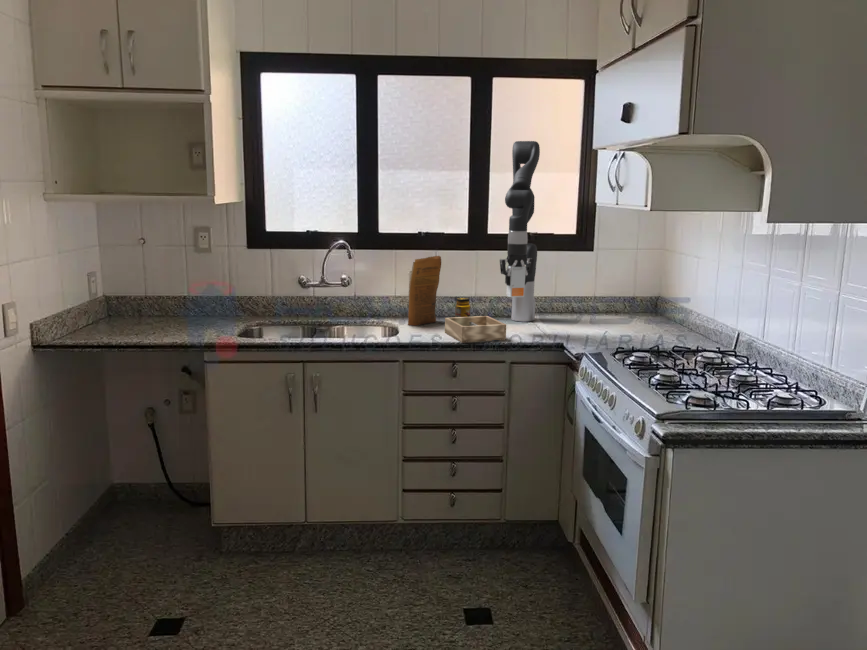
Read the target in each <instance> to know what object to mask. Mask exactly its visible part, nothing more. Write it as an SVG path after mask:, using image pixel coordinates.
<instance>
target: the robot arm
mask: <svg viewBox="0 0 867 650" xmlns="http://www.w3.org/2000/svg"><path fill="white" fill-rule="evenodd" d="M540 148H541V147H540V144H539V142H538V141H536V140H518V141H514V142H513V145H512V153H511V156H512V184H511V186H510V188H508V190H507V192H506V194H505V198H504V203H505V205H506V207H507V208H509V209H512V212H511V213H512V215H510V216H509V219H508V235H507V251H506V252H507V253H506V254H507V257H506V258H500V259H499V270H500V274H501V275H504V276H505V279H504V281H505V282H504V283H505V285H506V286H507V285H508V286H510V279H511V276H510V274H511V270H512V267H526V271H525V289H524V297H511V315H510V316H511V317H510V319H511V320H512V321H514V322H515V321H516V322H524V323H525V322H532V321H536V320H535V318H536V317H535V316H536V298H534V297H535V278H536V273H537V261H538V247H537V245H536V244H534V243H530V242H528V241H529V239H528V224H529V222H530V221H531V219H532V217H533V215H534V214H535V198H536V197H535V195H534V192H533V190H532V188H531V186H532V181H533V180H532V179H533V176H534V174H535V170H536V169H537V166H538V164H539V160H540V153H541V152H540V151H541V149H540ZM521 165H522V166H521ZM507 264H508V265H507ZM506 265H507V266H506ZM509 266H510V267H511V268H509Z"/></svg>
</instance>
